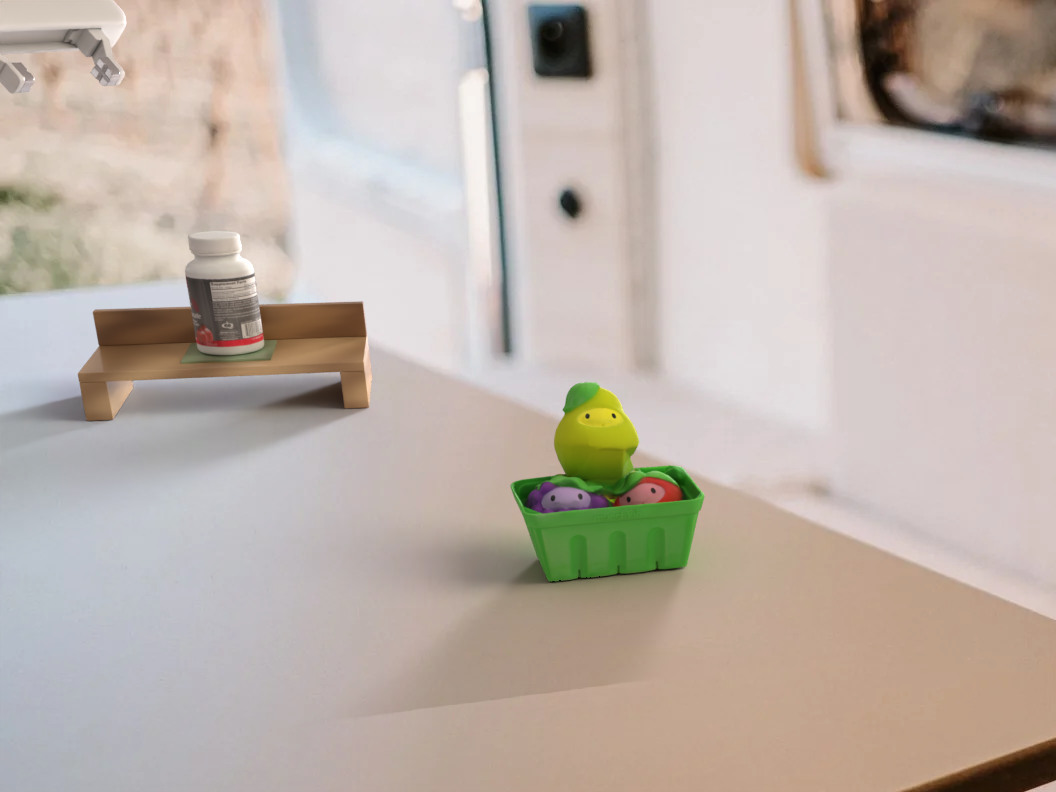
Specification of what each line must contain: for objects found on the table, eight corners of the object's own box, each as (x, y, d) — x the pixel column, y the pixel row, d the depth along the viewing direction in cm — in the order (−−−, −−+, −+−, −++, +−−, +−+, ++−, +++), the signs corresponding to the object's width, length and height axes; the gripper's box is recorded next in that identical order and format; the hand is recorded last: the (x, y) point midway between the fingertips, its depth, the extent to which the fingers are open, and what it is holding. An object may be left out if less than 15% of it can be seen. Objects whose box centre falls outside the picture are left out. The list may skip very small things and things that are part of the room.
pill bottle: (189, 347, 139) (170, 232, 135) (253, 340, 142) (236, 227, 139) (209, 359, 135) (190, 241, 132) (274, 351, 139) (258, 236, 135)
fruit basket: (530, 592, 100) (516, 415, 96) (512, 546, 108) (497, 380, 103) (710, 573, 104) (704, 402, 100) (680, 530, 112) (673, 369, 107)
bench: (86, 421, 132) (70, 336, 130) (108, 388, 142) (94, 309, 139) (369, 407, 139) (359, 326, 136) (372, 377, 148) (363, 301, 146)
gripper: (43, -19, 143) (149, 102, 145) (-172, -18, 126) (-49, 120, 127) (73, -73, 140) (181, 51, 142) (-143, -79, 123) (-17, 63, 124)
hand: (71, 84), depth 134 cm, fingers open, 8 cm apart
